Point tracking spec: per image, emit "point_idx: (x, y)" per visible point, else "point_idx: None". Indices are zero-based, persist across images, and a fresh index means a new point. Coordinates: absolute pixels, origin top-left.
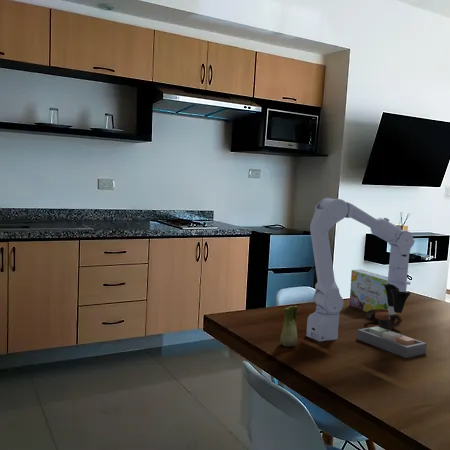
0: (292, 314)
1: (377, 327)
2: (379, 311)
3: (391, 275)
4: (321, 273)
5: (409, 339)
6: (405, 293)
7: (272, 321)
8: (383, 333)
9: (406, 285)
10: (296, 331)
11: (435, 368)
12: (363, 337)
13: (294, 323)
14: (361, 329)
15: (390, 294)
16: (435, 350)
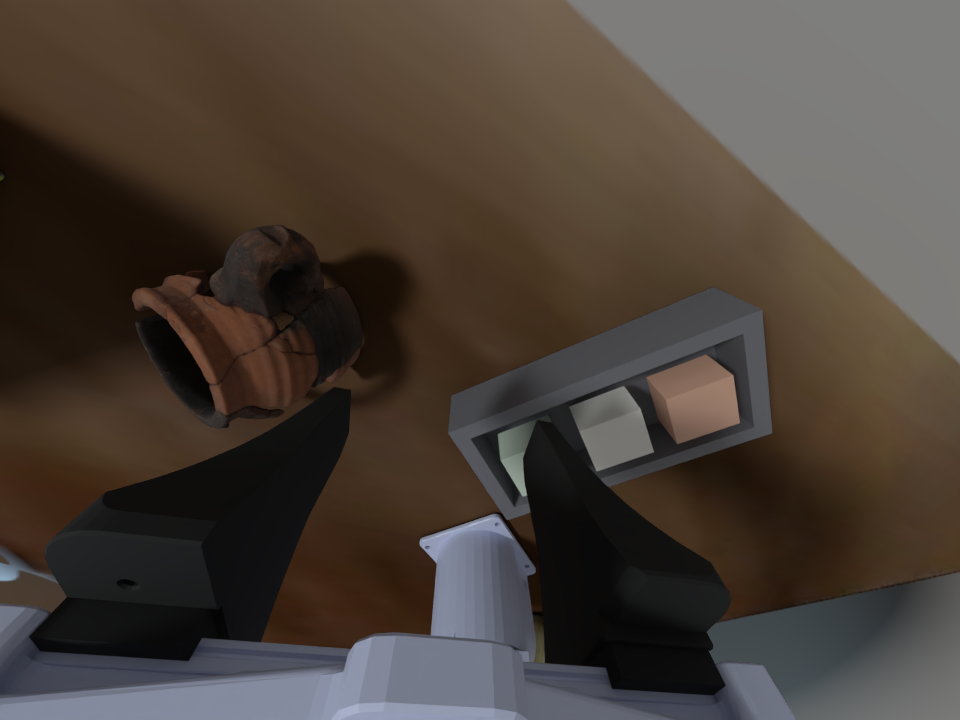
0: None
1: (515, 463)
2: (241, 389)
3: None
4: None
5: (724, 400)
6: (701, 618)
7: (307, 622)
8: (601, 467)
9: (632, 716)
10: (544, 660)
11: (837, 318)
12: None
13: None
14: (506, 508)
15: (300, 516)
16: (647, 167)
